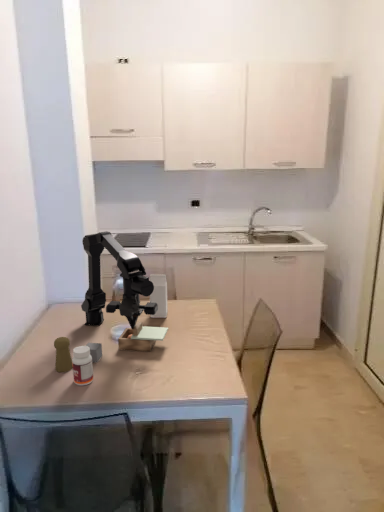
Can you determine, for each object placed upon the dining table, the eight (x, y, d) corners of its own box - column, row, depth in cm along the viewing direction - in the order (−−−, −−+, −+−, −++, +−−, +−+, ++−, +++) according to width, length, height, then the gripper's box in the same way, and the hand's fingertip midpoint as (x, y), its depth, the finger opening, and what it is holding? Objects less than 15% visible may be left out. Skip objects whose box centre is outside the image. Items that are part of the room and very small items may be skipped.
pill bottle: (70, 380, 134) (68, 348, 131) (88, 373, 137) (86, 342, 134) (79, 388, 129) (76, 355, 126) (96, 381, 133) (94, 349, 130)
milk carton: (166, 317, 182) (165, 277, 178) (150, 317, 183) (148, 277, 178) (167, 311, 189) (166, 272, 185) (152, 311, 189) (150, 272, 185)
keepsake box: (118, 349, 154) (118, 338, 152) (126, 338, 163) (126, 327, 162) (150, 351, 152) (149, 340, 151) (156, 339, 161) (155, 329, 160)
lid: (131, 338, 152) (130, 330, 151) (138, 327, 161) (138, 320, 160) (162, 340, 150) (162, 332, 149) (168, 329, 159) (168, 321, 159)
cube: (83, 361, 145) (82, 349, 144) (89, 355, 150) (88, 342, 149) (97, 362, 145) (96, 349, 143) (102, 355, 149) (101, 343, 148)
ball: (126, 344, 156) (125, 336, 156) (128, 340, 159) (128, 332, 159) (134, 344, 156) (134, 336, 155) (136, 340, 159) (136, 333, 158)
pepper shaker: (77, 365, 143) (74, 336, 140) (65, 374, 137) (62, 343, 135) (63, 362, 145) (60, 333, 142) (51, 370, 140) (48, 340, 137)
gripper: (99, 296, 146) (102, 336, 150) (150, 298, 143) (151, 339, 147) (109, 286, 156) (112, 324, 160) (157, 288, 154) (159, 326, 157)
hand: (133, 328), depth 156 cm, fingers closed
